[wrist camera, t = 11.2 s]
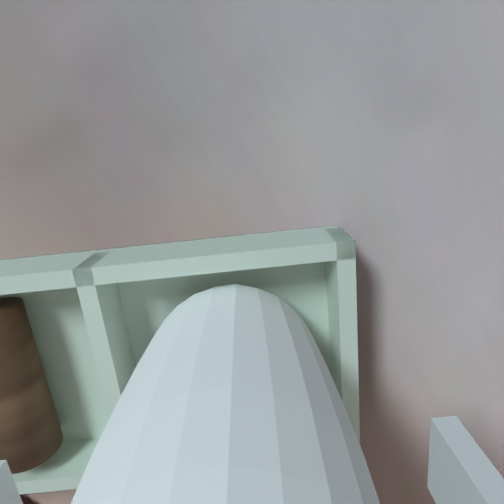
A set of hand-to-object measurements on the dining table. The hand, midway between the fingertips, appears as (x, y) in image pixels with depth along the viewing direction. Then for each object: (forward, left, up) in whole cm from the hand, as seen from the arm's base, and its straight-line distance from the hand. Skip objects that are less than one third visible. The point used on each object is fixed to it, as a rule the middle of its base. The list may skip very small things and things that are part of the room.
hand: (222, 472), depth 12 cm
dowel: (0, -11, -8) cm, 14 cm away
